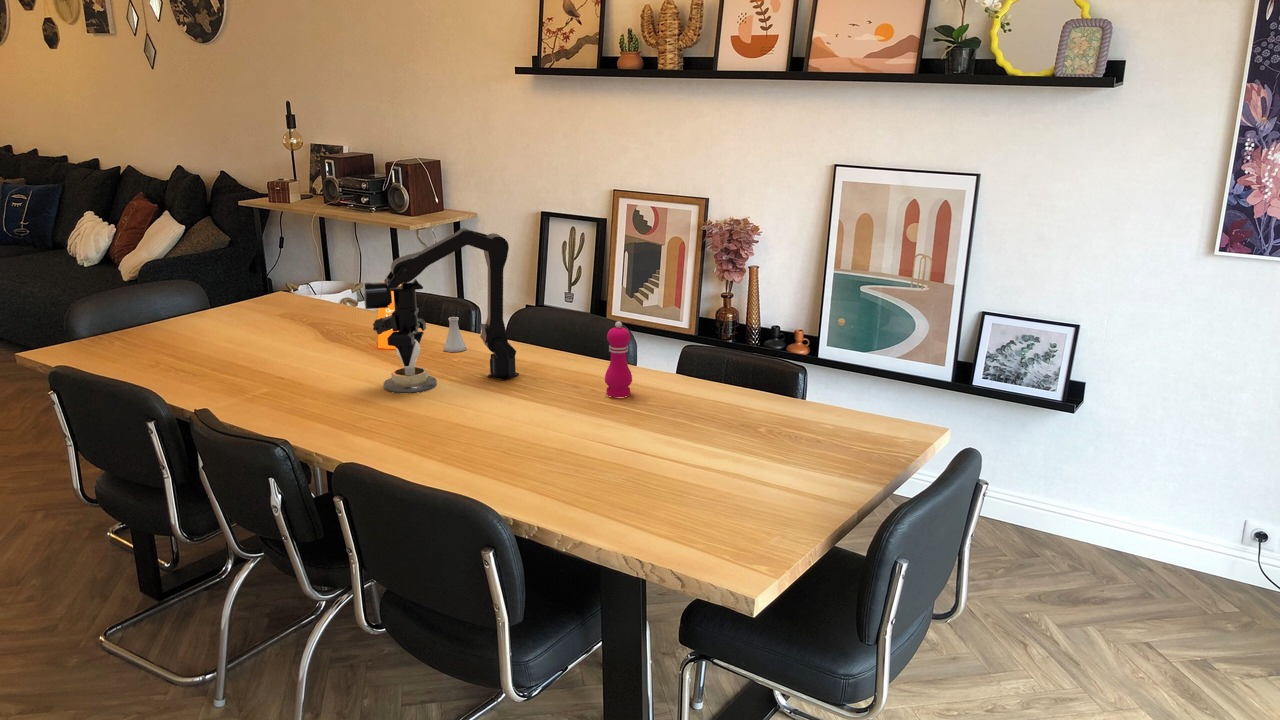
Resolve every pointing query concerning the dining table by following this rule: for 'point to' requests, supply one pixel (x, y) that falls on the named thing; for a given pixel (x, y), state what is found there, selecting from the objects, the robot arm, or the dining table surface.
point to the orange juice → (383, 337)
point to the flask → (454, 337)
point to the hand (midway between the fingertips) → (409, 362)
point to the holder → (410, 381)
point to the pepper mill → (618, 362)
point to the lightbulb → (411, 368)
